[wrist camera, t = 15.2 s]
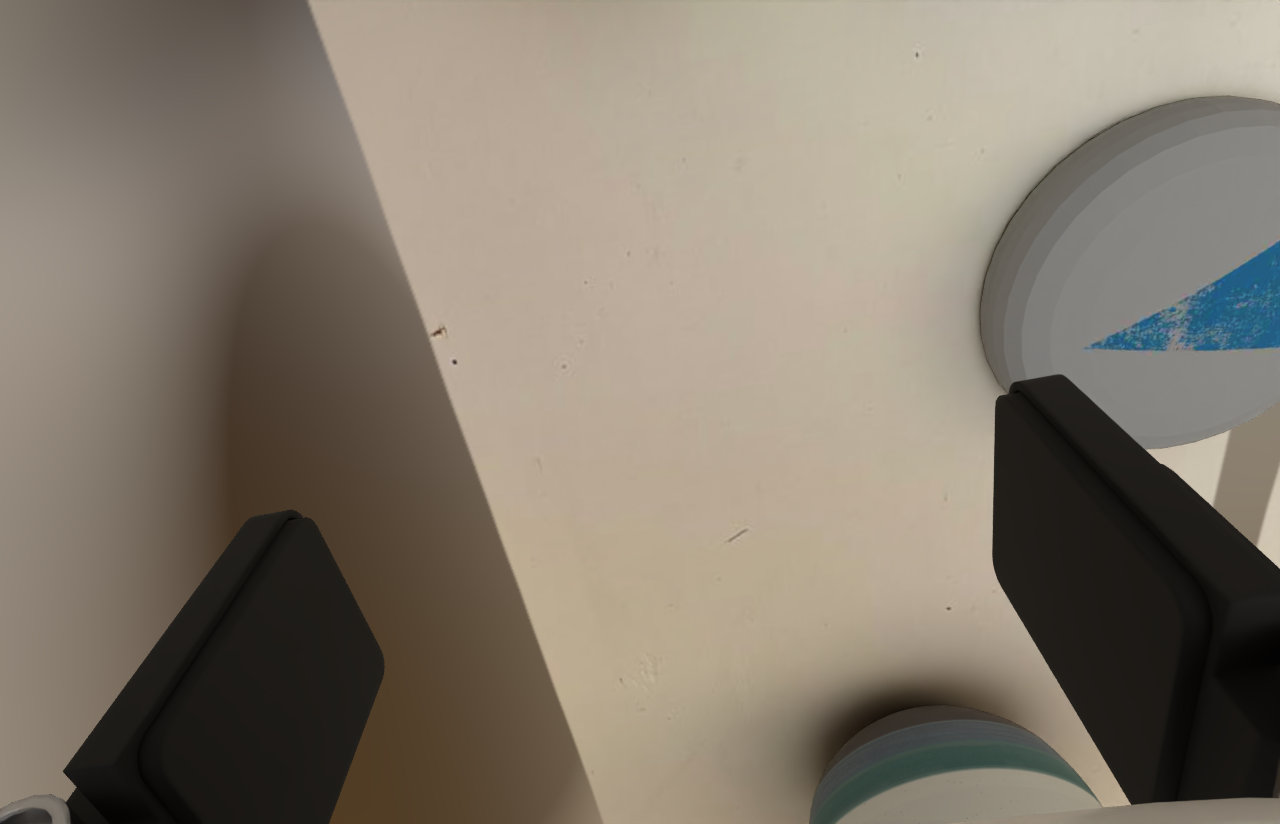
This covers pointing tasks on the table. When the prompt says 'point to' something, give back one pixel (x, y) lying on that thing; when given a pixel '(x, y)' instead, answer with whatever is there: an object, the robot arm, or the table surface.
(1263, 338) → the grey frisbee
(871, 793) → the planter
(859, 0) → the table surface
